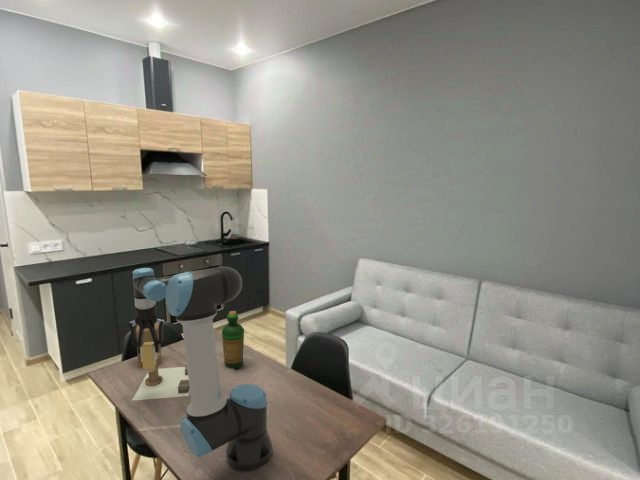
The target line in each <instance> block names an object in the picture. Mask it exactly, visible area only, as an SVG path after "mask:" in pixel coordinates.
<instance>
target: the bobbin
mask: <svg viewBox="0 0 640 480" xmlns="http://www.w3.org/2000/svg"><path fill="white" fill-rule="evenodd" d="M160 359H161V360H162V353H161V354H160V353H157V359H156V365H155V367H154V369H147V373H148V375H149V378H147V379H146V380H145V384H146V385H147V386H155V385H158V384H160V383H161V382H162V381H163V378H162V376H160V375H159V374H158V369H159V365H158V360H160Z"/></svg>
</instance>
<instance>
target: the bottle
mask: <svg viewBox="0 0 640 480" xmlns="http://www.w3.org/2000/svg"><path fill="white" fill-rule="evenodd" d="M226 317H227V318H226V321H227V323H228V324H226V325H224V327H223V328H222V329H221V339H222V341H221V342H222V350H223V362H224V365H225V367H226V368H228V369H233V370H237V369H239V368H240V369H241V367H242V366H243V364H244V343H245V340H244V339H245V328H244V327H243V326H242V325H241V324H240V323H238V320H239V315H238V313H237V311H236V310H230V311H229V312H228V314H227V316H226Z"/></svg>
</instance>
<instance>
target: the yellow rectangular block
mask: <svg viewBox="0 0 640 480" xmlns="http://www.w3.org/2000/svg"><path fill="white" fill-rule="evenodd" d="M153 345H154V342H144V344H143V346H142V360H143V368H142V370H148V369H154V367H155V365H156V361H153V347H152V346H153Z"/></svg>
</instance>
